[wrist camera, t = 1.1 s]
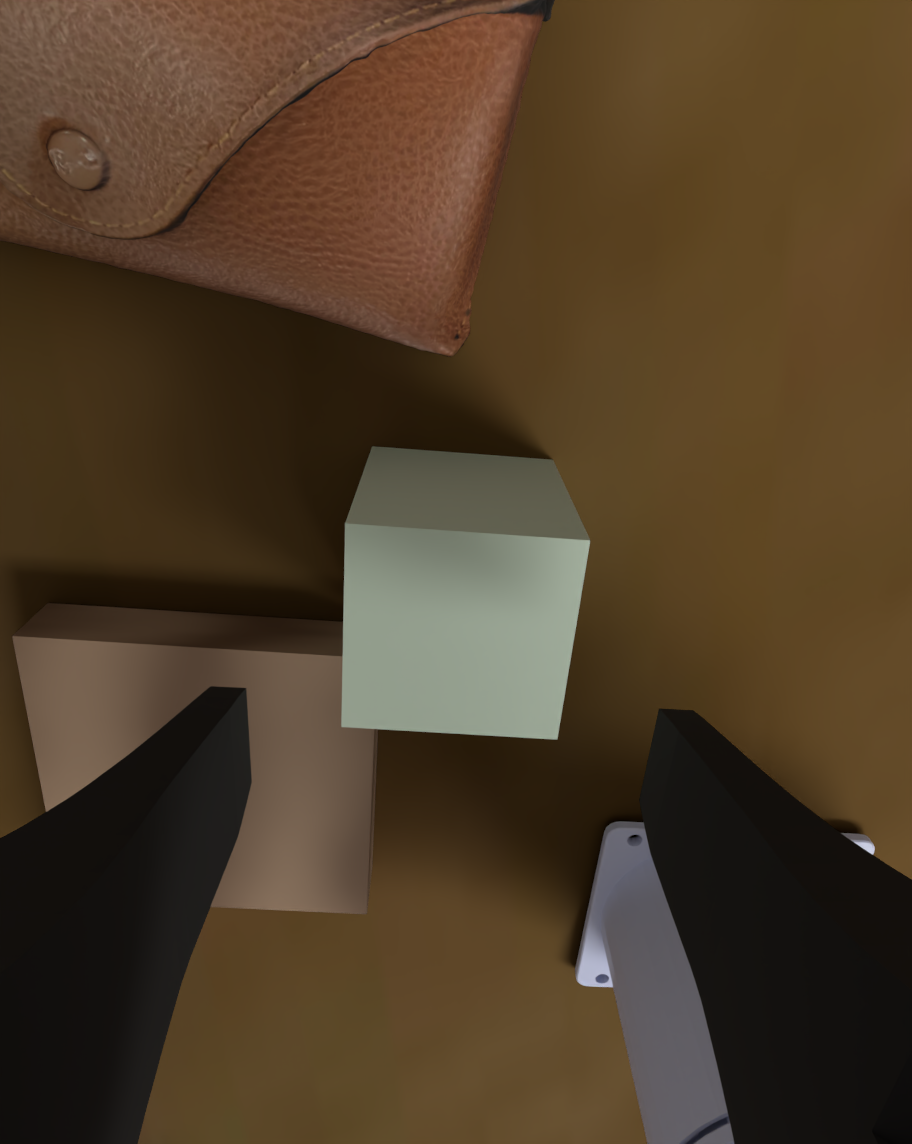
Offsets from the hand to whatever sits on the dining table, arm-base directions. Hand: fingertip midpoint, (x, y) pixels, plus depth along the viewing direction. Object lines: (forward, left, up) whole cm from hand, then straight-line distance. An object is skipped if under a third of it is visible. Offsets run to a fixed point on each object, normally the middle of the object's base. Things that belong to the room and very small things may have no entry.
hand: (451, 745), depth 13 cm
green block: (0, 0, -10) cm, 10 cm away
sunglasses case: (+8, -10, -10) cm, 17 cm away
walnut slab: (+7, +8, -9) cm, 14 cm away
